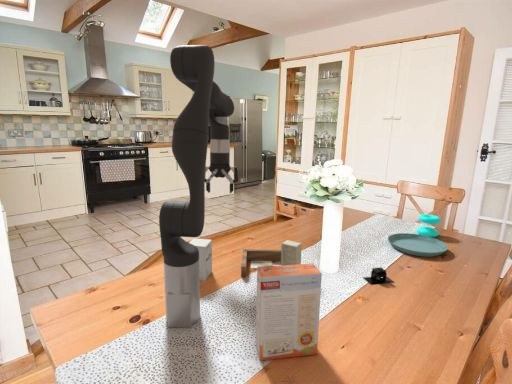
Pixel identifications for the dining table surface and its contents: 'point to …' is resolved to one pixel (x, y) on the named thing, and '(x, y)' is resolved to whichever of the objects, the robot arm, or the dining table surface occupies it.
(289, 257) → the skincare box
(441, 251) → the saucer
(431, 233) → the donuts
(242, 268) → the wooden corner frame
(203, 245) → the supplement box
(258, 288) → the cracker box
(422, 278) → the dining table surface
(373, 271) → the black tapered holder
